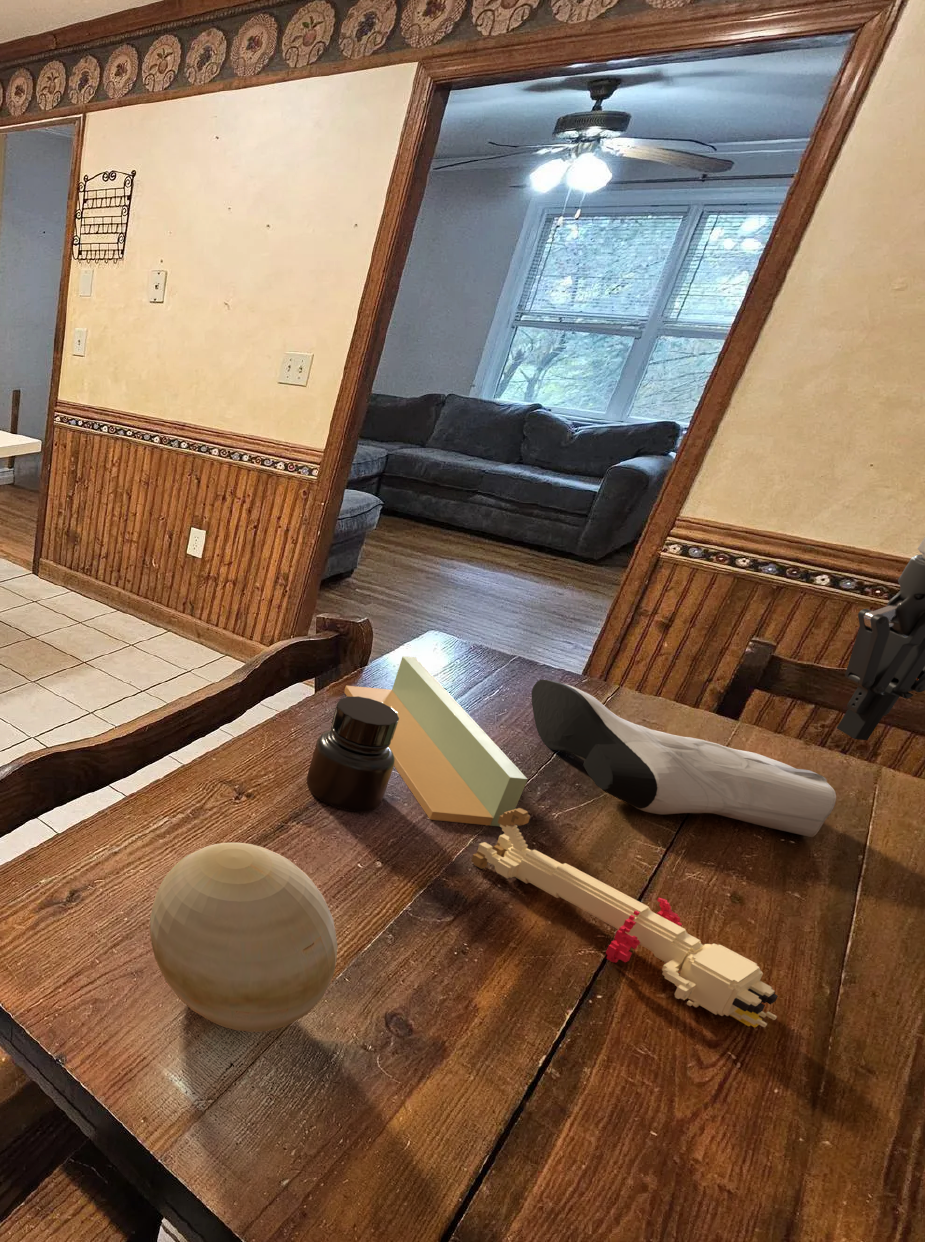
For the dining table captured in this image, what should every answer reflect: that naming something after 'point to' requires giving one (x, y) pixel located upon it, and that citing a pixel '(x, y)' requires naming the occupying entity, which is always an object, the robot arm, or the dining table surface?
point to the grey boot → (678, 767)
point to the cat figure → (638, 929)
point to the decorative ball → (243, 937)
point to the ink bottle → (354, 755)
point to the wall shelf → (445, 751)
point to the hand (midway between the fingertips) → (851, 733)
